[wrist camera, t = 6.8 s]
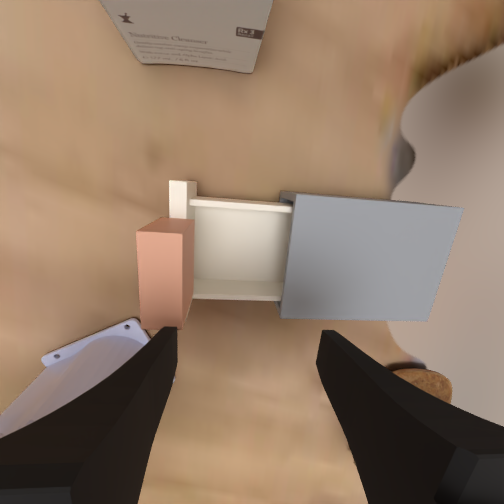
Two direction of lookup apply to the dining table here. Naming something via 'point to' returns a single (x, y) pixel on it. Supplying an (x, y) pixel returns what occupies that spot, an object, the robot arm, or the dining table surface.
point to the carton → (364, 257)
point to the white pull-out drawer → (209, 254)
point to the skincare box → (192, 31)
